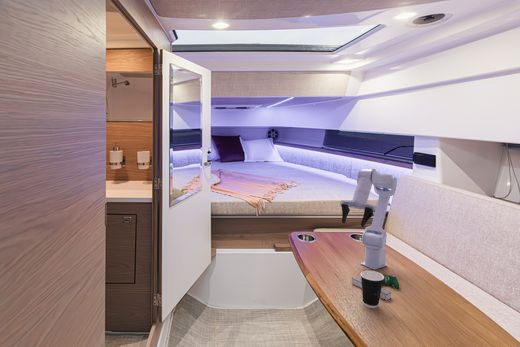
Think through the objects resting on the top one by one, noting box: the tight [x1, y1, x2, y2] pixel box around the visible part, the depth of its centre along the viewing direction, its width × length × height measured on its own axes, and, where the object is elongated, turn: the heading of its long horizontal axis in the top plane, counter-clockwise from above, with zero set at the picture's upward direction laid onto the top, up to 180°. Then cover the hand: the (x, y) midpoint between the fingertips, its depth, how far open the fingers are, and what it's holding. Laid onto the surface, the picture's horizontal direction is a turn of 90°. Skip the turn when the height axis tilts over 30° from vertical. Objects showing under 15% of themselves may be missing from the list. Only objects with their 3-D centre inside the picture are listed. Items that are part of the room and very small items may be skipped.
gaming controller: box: [382, 274, 400, 290], centre depth 128 cm, size 9×4×6 cm
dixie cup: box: [360, 270, 384, 309], centre depth 112 cm, size 8×8×11 cm
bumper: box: [351, 276, 392, 301], centre depth 123 cm, size 3×16×2 cm, turn 33°
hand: (352, 224), depth 125 cm, fingers open, 7 cm apart
